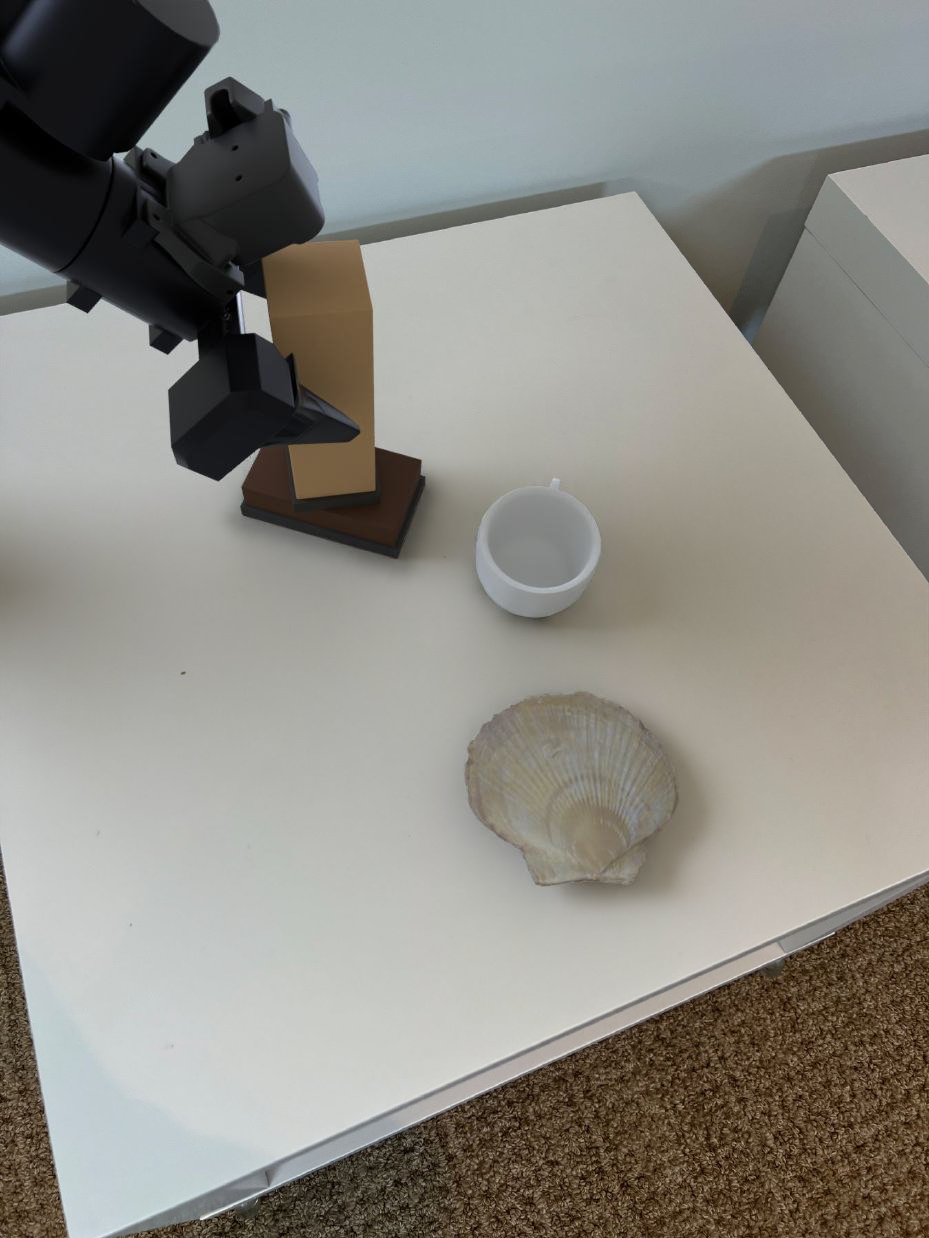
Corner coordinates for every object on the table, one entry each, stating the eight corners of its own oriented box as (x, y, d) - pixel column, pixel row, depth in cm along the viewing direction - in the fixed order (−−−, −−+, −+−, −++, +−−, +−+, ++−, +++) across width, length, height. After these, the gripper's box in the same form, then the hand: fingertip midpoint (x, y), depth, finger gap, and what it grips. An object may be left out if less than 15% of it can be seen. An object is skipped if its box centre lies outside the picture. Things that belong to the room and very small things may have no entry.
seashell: (550, 664, 55) (558, 644, 52) (700, 786, 52) (716, 771, 50) (427, 796, 51) (429, 781, 48) (583, 937, 48) (594, 930, 45)
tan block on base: (381, 503, 56) (380, 313, 42) (293, 513, 55) (263, 322, 41) (368, 435, 58) (363, 234, 44) (285, 444, 58) (252, 241, 43)
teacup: (570, 647, 56) (588, 608, 51) (456, 615, 56) (463, 573, 51) (600, 524, 60) (619, 478, 56) (495, 495, 61) (504, 447, 56)
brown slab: (241, 515, 58) (234, 488, 56) (277, 443, 61) (272, 414, 59) (397, 559, 58) (397, 535, 55) (425, 484, 61) (427, 457, 58)
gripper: (202, 239, 29) (486, 424, 41) (176, -58, 37) (419, 166, 49) (37, 417, 35) (327, 534, 46) (46, 126, 43) (291, 287, 54)
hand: (344, 371), depth 49 cm, fingers open, 9 cm apart
